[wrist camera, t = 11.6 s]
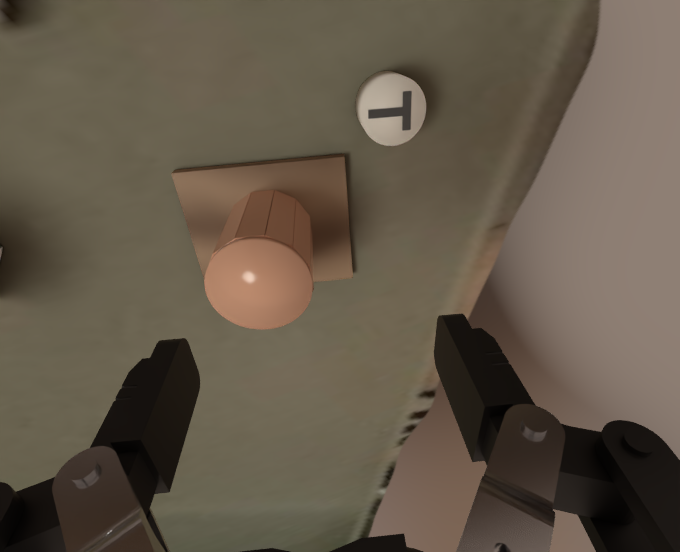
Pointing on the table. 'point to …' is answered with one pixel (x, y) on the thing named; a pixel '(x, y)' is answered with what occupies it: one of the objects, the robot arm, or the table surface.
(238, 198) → the walnut mat
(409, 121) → the letter puck
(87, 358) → the table surface
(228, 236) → the faceted terracotta cylinder
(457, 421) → the robot arm
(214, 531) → the table surface
